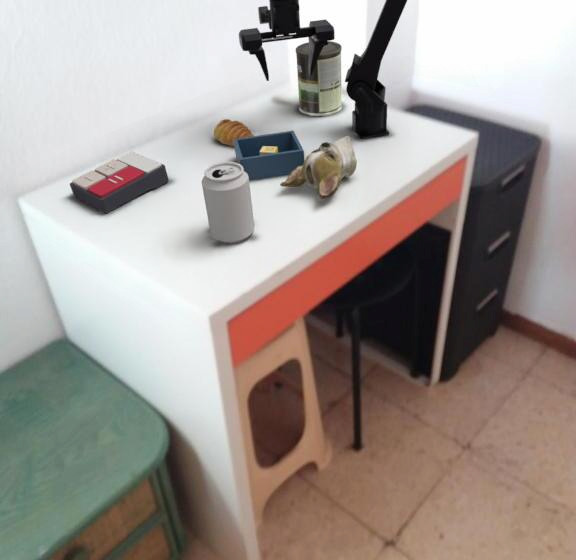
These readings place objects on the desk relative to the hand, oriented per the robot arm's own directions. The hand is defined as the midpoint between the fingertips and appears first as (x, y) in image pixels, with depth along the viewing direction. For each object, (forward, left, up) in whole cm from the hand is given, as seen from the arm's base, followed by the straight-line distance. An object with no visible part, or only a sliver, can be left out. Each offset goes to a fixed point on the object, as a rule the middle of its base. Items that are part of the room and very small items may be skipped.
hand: (289, 77), depth 127 cm
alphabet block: (+8, +15, -12) cm, 20 cm away
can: (+18, +38, -12) cm, 44 cm away
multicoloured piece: (+37, +16, -12) cm, 42 cm away
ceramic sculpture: (-1, +27, -12) cm, 29 cm away
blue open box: (+8, +15, -12) cm, 21 cm away
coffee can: (-9, -11, -12) cm, 19 cm away
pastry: (+13, 0, -12) cm, 18 cm away
